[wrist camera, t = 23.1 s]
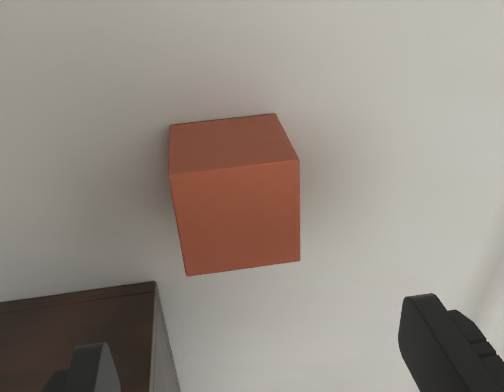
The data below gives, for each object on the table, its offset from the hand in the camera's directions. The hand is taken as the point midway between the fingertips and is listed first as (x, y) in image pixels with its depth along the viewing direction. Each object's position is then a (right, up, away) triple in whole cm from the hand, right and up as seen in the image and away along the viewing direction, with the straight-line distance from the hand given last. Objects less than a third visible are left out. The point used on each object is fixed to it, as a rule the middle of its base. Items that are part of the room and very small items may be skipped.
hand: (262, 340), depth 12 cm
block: (-1, +5, +9) cm, 10 cm away
